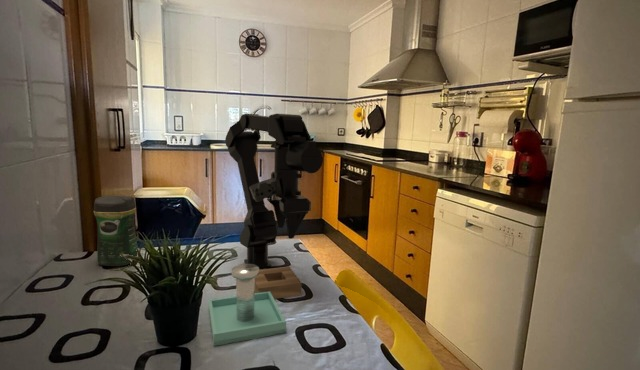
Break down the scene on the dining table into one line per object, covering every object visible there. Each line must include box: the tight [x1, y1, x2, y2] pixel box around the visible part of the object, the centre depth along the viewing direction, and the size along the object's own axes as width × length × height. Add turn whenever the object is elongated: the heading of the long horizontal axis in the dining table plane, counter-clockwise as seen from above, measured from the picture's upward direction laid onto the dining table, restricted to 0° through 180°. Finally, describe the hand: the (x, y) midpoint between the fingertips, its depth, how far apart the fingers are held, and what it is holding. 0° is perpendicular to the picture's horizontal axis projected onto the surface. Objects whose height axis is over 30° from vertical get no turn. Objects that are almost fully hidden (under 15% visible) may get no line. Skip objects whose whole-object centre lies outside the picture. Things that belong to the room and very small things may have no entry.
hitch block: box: [255, 266, 302, 300], centre depth 83 cm, size 10×10×3 cm
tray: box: [207, 291, 287, 347], centre depth 69 cm, size 13×13×2 cm
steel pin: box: [231, 263, 260, 322], centre depth 68 cm, size 5×5×10 cm
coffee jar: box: [93, 195, 139, 267], centre depth 95 cm, size 10×8×19 cm
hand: (285, 232), depth 84 cm, fingers open, 9 cm apart
